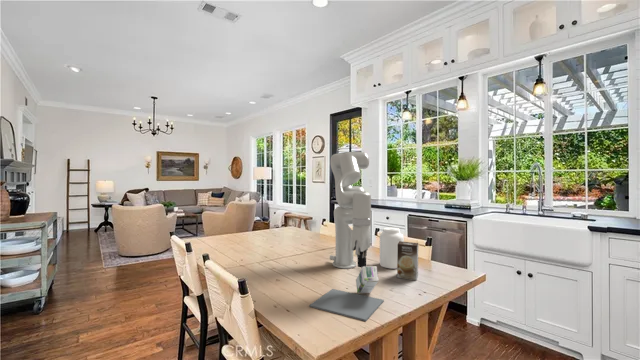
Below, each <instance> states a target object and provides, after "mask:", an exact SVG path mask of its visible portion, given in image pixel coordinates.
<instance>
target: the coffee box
mask: <svg viewBox="0 0 640 360" xmlns="http://www.w3.org/2000/svg"><path fill="white" fill-rule="evenodd" d="M396 278H398V279H399V278H400V279H404V280H409V281H410V280H412V281H417V280H418V278H419V242H411V241H404V242H402V241H399V243H398V254H397V269H396Z"/></svg>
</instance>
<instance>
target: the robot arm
mask: <svg viewBox="0 0 640 360" xmlns="http://www.w3.org/2000/svg"><path fill="white" fill-rule="evenodd" d="M369 166H370V158H369V155H368V154H367V153H366V152H365V151H345V152H341V153H340V152H339V153H333V154H332V155H331V157H330V168H331V171H332V174H333V177H334V184H335V185H334V188H335V199H336V203H337V204H338V206H337V207H336V208H334V210H333V218H334V227H335V255H332V254H331V255H329V260H330V261H333V262H332V266H333V267H335V268H338V269H353V268H356V267H359V268H362V267H366V266H367V256H368V255H367V252H368V250H369V248H370V247H371V227H372V195H371V194H370V193H369V192H368V191H366V190H365V188H363V187H362V186H359V185H354V184H356V183H357V182H358V181H360V180H361V177H362V174H361V173H362V172H361V170H365V169H368V168H369ZM353 185H354V186H353ZM351 224H352V228H351V227H350V226H349V225H351ZM354 251H355V256H356V257H357V261H356V262H357V263H356V262H355V260H354Z"/></svg>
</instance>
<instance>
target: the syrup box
mask: <svg viewBox="0 0 640 360" xmlns="http://www.w3.org/2000/svg"><path fill="white" fill-rule="evenodd" d="M356 277H357V278H356V279H355V284H356V285H355V286H356V291H357V292H356V294H370V293H372V292H373V290H374V288H375V287H376V285H377V284H378V282H379V281H380V280H379V273H378V266H375V265H374V266H373V265H372V266H370V265H368V266H367V265H366V267H361V269H360V271H359V273H358V275H357V276H356Z"/></svg>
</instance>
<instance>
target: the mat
mask: <svg viewBox="0 0 640 360" xmlns="http://www.w3.org/2000/svg"><path fill="white" fill-rule="evenodd" d="M384 302H385V299H381V298H377V297H372V296H367V295H365V294H360V293H355V292H354V293H353V292H349V291H344V290H339V289H335V288H331V289H330V290H329V291H327V292H326V293H324V294H323V295H322V296H320V297H318V298H317V299H316V300H314V301H313V302H311V303H310V304H309V307H310V308H313V309H318V310H319V311H320V310H321V311H325V312H329V313H333V314H336V315H340V316H344V317H347V318H352V319H355V320H360V321H363V322H367V321H368V320H369V319H370V318H371V317H372V315H373V314H375V312H376V311H377V310H378V309H379V308H380V306H382V304H383V303H384Z"/></svg>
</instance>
